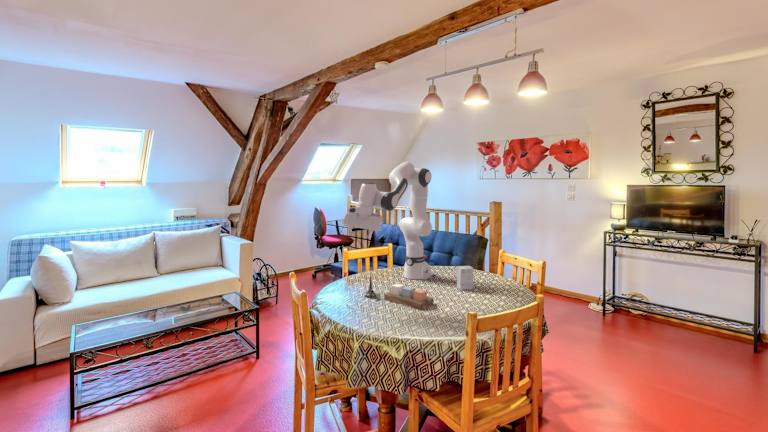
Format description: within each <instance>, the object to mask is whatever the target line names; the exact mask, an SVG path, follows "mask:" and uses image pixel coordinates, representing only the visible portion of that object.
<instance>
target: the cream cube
mask: <svg viewBox="0 0 768 432" xmlns="http://www.w3.org/2000/svg"><path fill="white" fill-rule="evenodd" d="M404 287H405V285H404V284H400V283H395V284H391V285H390V289H391V291H390V292H391V294H394V295H397V296H399V295H402V288H404Z"/></svg>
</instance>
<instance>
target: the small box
mask: <svg viewBox="0 0 768 432" xmlns="http://www.w3.org/2000/svg"><path fill="white" fill-rule="evenodd" d="M456 269H457V270H456V288H457V289H459V290H460V291H461V290H462V291H464V290H466V289H467V290H473V289H474V267H473V266H471V265H457V266H456ZM467 290H466V291H467Z"/></svg>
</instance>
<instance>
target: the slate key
mask: <svg viewBox="0 0 768 432" xmlns="http://www.w3.org/2000/svg"><path fill="white" fill-rule="evenodd" d="M415 290H416V288H415V287H413V286H409V285H407V286H404V288H402V297H405V298H408V299H411V298H413V294H414V291H415Z"/></svg>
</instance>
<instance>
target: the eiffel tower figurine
mask: <svg viewBox="0 0 768 432" xmlns="http://www.w3.org/2000/svg"><path fill="white" fill-rule="evenodd" d="M363 294H365V295H364V298H367V299H369V300H371V299H375V298H376V299H375V300H374V301H375V302H380V301H381V293H378V292H375V291H374V289H373V285H372V276H371V275H370V276H369V286H368V290H367V292H366V291H365V292H363Z"/></svg>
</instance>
